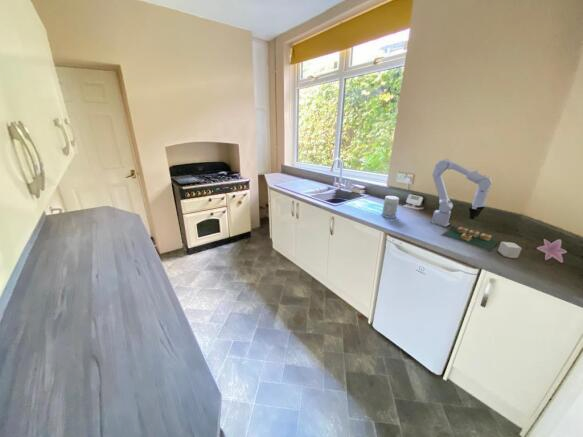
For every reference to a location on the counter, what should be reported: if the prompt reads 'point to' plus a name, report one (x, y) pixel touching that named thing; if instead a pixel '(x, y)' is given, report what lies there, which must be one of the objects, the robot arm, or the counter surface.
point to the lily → (552, 250)
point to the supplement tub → (390, 206)
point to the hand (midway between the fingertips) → (473, 217)
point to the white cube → (509, 249)
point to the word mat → (474, 241)
